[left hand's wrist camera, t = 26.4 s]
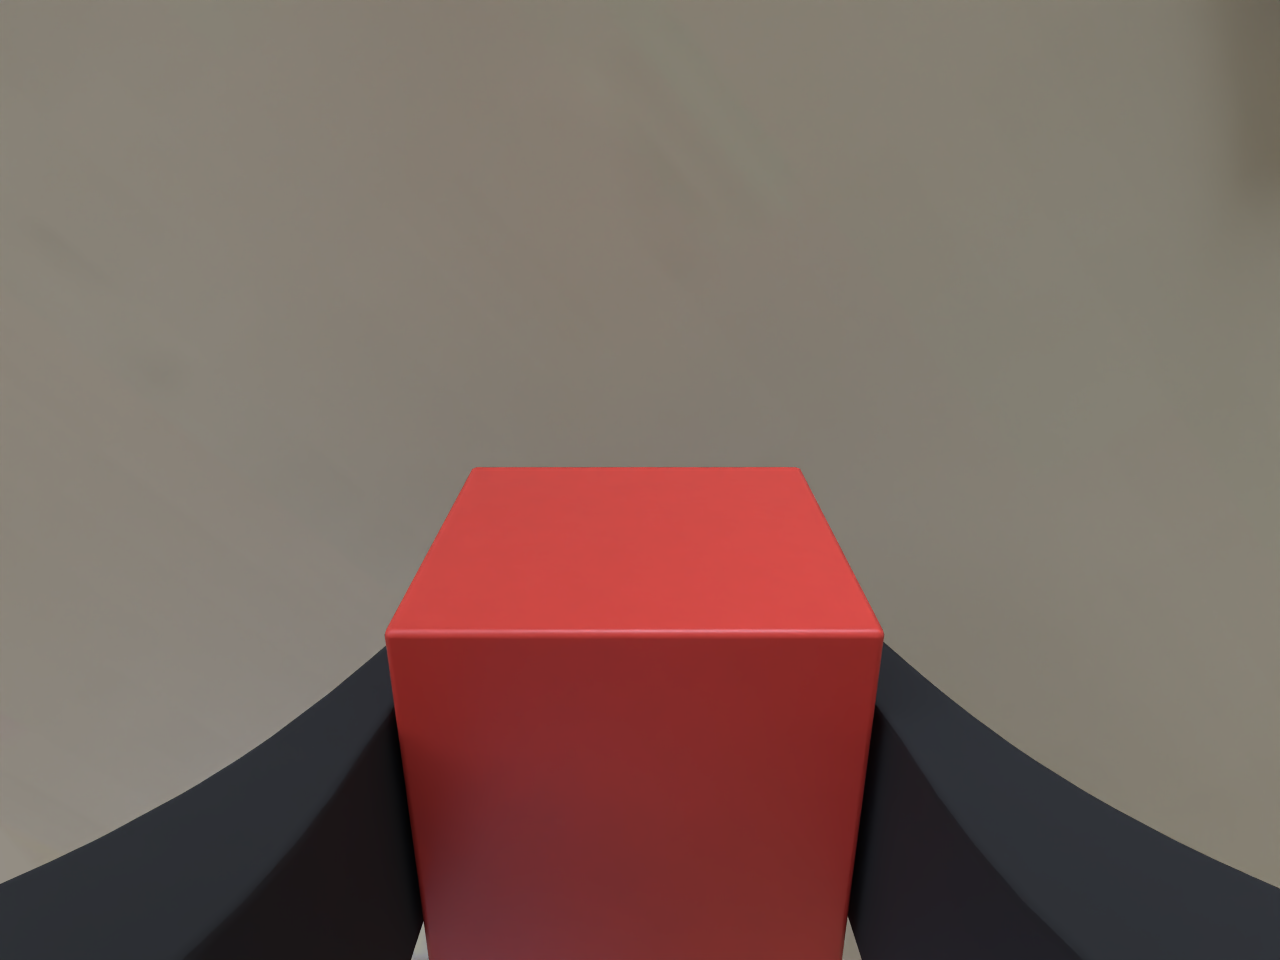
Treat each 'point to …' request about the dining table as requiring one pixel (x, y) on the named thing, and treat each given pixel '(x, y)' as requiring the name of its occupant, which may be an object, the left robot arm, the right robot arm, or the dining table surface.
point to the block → (635, 717)
